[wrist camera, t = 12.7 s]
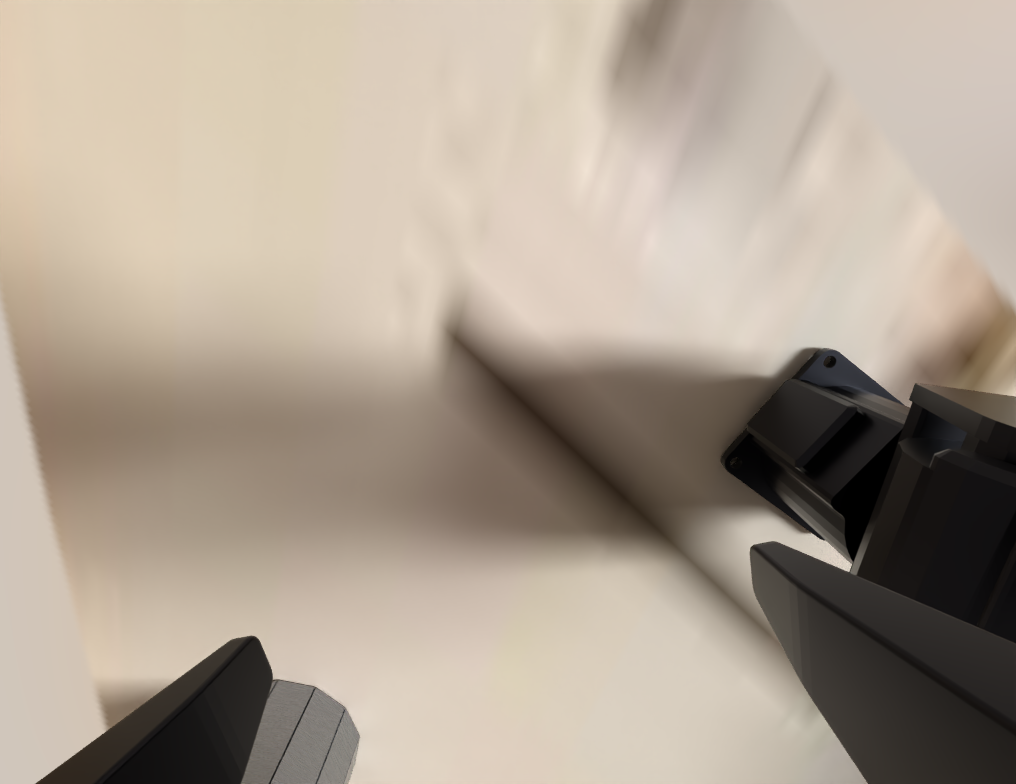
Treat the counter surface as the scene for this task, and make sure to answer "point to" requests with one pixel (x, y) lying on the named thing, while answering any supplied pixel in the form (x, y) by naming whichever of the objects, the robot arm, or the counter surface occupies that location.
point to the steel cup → (302, 739)
